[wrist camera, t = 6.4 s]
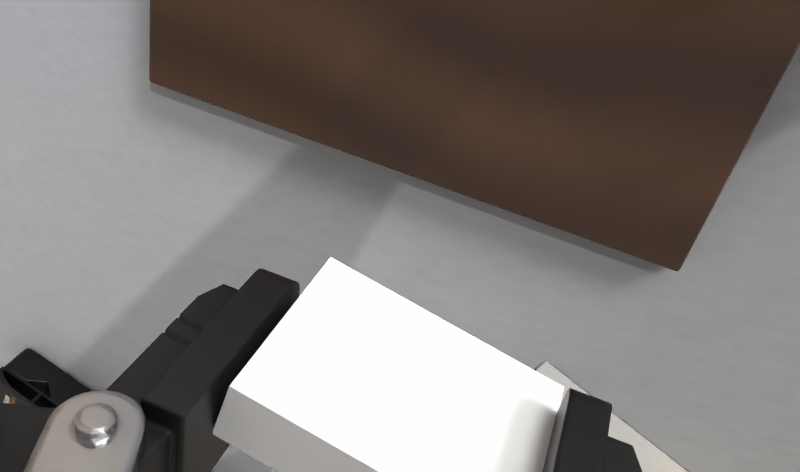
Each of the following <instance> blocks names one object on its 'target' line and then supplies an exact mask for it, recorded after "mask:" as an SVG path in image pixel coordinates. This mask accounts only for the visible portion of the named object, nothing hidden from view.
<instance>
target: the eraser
mask: <svg viewBox="0 0 800 472" xmlns="http://www.w3.org/2000/svg"><path fill="white" fill-rule="evenodd" d="M563 391H564V386H562V385H560V384H558V383H557V382H555V381H553V380H551V379H549V378H548V377H546V376H544V375H542V374H540V373H539V372H537V371H535V370H533V369H531V368H530V367H528V366H526V365H524V364H522V363H521V362H519V361H517V360H515V359H513V358H512V357H510V356H508V355H506V354H504V353H503V352H501V351H499V350H497V349H495V348H494V347H492V346H490V345H488V344H486V343H485V342H483V341H481V340H479V339H477V338H476V337H474V336H472V335H470V334H468V333H467V332H465V331H463V330H461V329H459V328H458V327H456V326H454V325H452V324H450V323H449V322H447V321H445V320H443V319H441V318H440V317H438V316H436V315H434V314H432V313H431V312H429V311H427V310H425V309H423V308H422V307H420V306H418V305H416V304H414V303H413V302H411V301H409V300H407V299H405V298H404V297H402V296H400V295H398V294H396V293H395V292H393V291H391V290H389V289H387V288H386V287H384V286H382V285H380V284H379V283H377V282H375V281H373V280H371V279H370V278H368V277H366V276H364V275H362V274H361V273H359V272H357V271H355V270H353V269H352V268H350V267H348V266H346V265H344V264H343V263H341V262H339V261H337V260H335V259H334V258H332V257H330V258H329V259H328V261H327V262H326V263H325V264H324V266H323V267H322V268H321V270H320V271H319V272H318V273H317V275H316V276H315V277H314V279H313V280H312V281H311V282H310V284H309V285H308V286H307V287H306V289H305V290H304V291H303V293H302V294H301V295H300V296H299V298H298V299H297V300H296V302H295V303H294V304H293V305H292V307H291V308H290V309H289V310H288V312H287V313H286V314H285V316H284V317H283V318H282V319H281V321H280V322H279V323H278V325H277V326H276V327H275V328H274V330H273V331H272V332H271V333H270V335H269V336H268V337H267V339H266V340H265V341H264V342H263V344H262V345H261V346H260V348H259V349H258V350H257V351H256V353H255V354H254V355H253V356H252V358H251V359H250V360H249V362H248V363H247V364H246V365H245V367H244V368H243V369H242V371H241V372H240V373H239V374H238V376H237V377H236V378H235V379H234V381H233V382H232V383H231V385H230V386H229V388H228V391H227V394H226V397H225V399H224V402H223V405H222V407H221V410H220V413H219V416H218V418H217V421H216V424H215V426H214V429H213V435H215V436H217V437H218V438H220V439H222V440H224V441H225V442H227V443H229V444H230V445H232V446H234V447H236V448H237V449H239V450H241V451H243V452H244V453H246V454H248V455H249V456H251V457H253V458H255V459H256V460H258V461H260V462H262V463H263V464H265V465H267V466H268V467H270V468H272V469H274V470H275V471H277V472H543V468H544V464H545V459H546V455H547V451H548V446H549V442H550V438H551V434H552V429H553V425H554V421H555V417H556V414H557V412H558V410H559V407H560V404H561V400H562V395H563Z"/></svg>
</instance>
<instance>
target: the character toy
mask: <svg viewBox="0 0 800 472" xmlns="http://www.w3.org/2000/svg"><path fill="white" fill-rule="evenodd" d="M535 371H537V372H539V373H540V374H542V375H544V376H546V377H548V378H549V379H551V380H553V381H555V382H557V383H558V384H560V385H562V386H564V391H563V395H562V400H561V403H562V401H563V399H564V396H565V394H566V392H567V391H568V389H569V388H572V389H574V390H577V391H580V392H582V393H585V394H587V395H589V394H588V393H586V392H585V391H584V390H583V389H581V388H580V387H579V386H577V385H576V384H575V383H574V382H572V381H571V380H570V379H568V378H567V377H566V376H565V375H563V374H562V373H561V372H560V371H558V370H557V369H556V368H554V367H553V366H552V365H551V364H549V363H548V362H547V361H546V362H545V363H544V364H542V365H541V366H540V367H539V368H537V369H536V370H535ZM560 405H561V404H560ZM608 436H610V437H612V438H615V439H617V440H620V441H622V442H625V443H627V444H630V445H632V446H633V447H634V450H635V453H636V456H637V459H638V461H639V464H640V467H641V470H642V472H687V471H686V470H685V469H683V468H682V467H681V466H680V465H678V464H677V463H676V462H674V461H673V460H672V459H671V458H669V457H668V456H667V455H666V454H664V453H663V452H662V451H660V450H659V449H658V448H657V447H655V446H654V445H653V444H652V443H650V442H649V441H648V440H646V439H645V438H644V437H643V436H641V435H640V434H639V433H637V432H636V431H635V430H634V429H632V428H631V427H630V426H629V425H627V424H626V423H625V422H623V421H622V420H621V419H620V418H618V417H617V416H616V415H614V414H613V413H612V412H611V418H610V425H609V432H608Z"/></svg>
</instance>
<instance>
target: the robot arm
mask: <svg viewBox="0 0 800 472" xmlns="http://www.w3.org/2000/svg"><path fill="white" fill-rule="evenodd" d="M299 291H300V286H299V283H298V282H296V281H293V280H290V279H288V278H285V277H283V276H280V275H277V274H275V273H272V272H270V271H267V270H264V269H258V270H257V271H256V272H255V273H254V274H253V275H252V276H251V277H250V278H249V279H248V280H247V281H246V283H245V284H244V285H243V286H242V287H241V288H240V289H239V290H237V289H235V288H232V287H230V286H227V285H224V284H223V285H221V286H219V287H217V288H215V289H212V290H210V291H208V292H206V293H204V294H202V295H200V296H198V297H197V298H196V299H195V300H194V301H193V302H192V303H191V304H190V305H189V306H188V307H187V308H186V309H185V310H184V311H183V312H182V313H181V314H180V317H179V318H176V319H175V320H174V321H173V322H172V323H171V324H170V325H169V326H168V328H167V329H166V331H165V333H162V334H161V335H160V336H159V337H158V338H157V339H156V340H155V341H154V342H153V343H152V344H151V345H150V346H149V347H148V348H147V349H146V350H145V351H144V352H143V353H142V354H141V355H140V356H139V357H138V358H137V359H136V360H135V361H134V362H133V363H132V364H131V365H130V366H129V367H128V368H127V369H126V371H125V372H124V373H123V374H122V375H121V376H120V377H119V378H118V379H117V380H116V381H115V382H114V383H113V384H112V385H111V386H110V387H109V388H108V389H106V390H99V391H90V392H85V393H82V394H79V395H76V396H74V397H72V398H70V399H68V400H66V401H65V402H63V403H62V404H61V405H59V406H58V407H57V408H44V407H35V406H26V405H18V404H9V403H0V472H210V471H211V470H212V469H213V467H214V466H215V464H216V463H217V462H218V460H219V459H220V457H221V456H222V455H223V453H224V452H225V450H226V449H227V448H228V446H229V445H230V444H229V443H227V442H225V441H224V440H222V439H220V438H218V437H217V436H215V435H213V429H214V426H215V424H216V421H217V418H218V416H219V413H220V410H221V407H222V405H223V402H224V399H225V397H226V394H227V391H228V388H229V386H230V385H231V383H232V382H233V381H234V379H235V378H236V377H237V376H238V374H239V373H240V372H241V371H242V369H243V368H244V367H245V365H246V364H247V363H248V362H249V360H250V359H251V358H252V356H253V355H254V354H255V353H256V351H257V350H258V349H259V348H260V346H261V345H262V344H263V342H264V341H265V340H266V339H267V337H268V336H269V335H270V333H271V332H272V331H273V330H274V328H275V327H276V326H277V325H278V323H279V322H280V321H281V319H282V318H283V317H284V316H285V314H286V313H287V312H288V310H289V309H290V308H291V307H292V305H293V304H294V303H295V302H296V300H297V299H298V298H299ZM611 411H612V405H611V403H608V402H605V401H603V400H600V399H598V398H595V397H592V396H590V395H587V394H585V393H582V392H580V391H577V390H574V389H572V388H569V389H568V391H567V392H566V394H565V396H564V399H563V401H562V403H561V405H560V407H559V410H558V412H557V414H556V417H555V421H554V425H553V429H552V434H551V438H550V442H549V446H548V451H547V455H546V459H545V464H544V468H543V472H642V470H641V467H640V464H639V461H638V459H637V456H636V453H635V450H634V447H633V446H632V445H630V444H627V443H625V442H622V441H620V440H617V439H615V438H612V437H610V436H608V432H609V425H610V418H611Z"/></svg>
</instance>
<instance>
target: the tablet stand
mask: <svg viewBox="0 0 800 472" xmlns="http://www.w3.org/2000/svg"><path fill="white" fill-rule="evenodd" d="M85 392H90V390H89V389H88V388H86V387H85V386H83V385H82V384H80V383H79V382H78V381H76V380H75V379H73V378H72V377H70V376H69V375H68V374H66V373H65V372H63V371H62V370H60V369H59V368H57V367H56V366H55V365H53V364H52V363H50V362H49V361H47V360H46V359H44V358H43V357H42V356H40V355H39V354H37V353H36V352H34V351H33V350H31V349H25V350H24V351H23V352H21V353H20V354H19V355H18V356H17V357H15V358H14V359H13V360H12V361H11V362H10V363H8V364H7V365H6V366H5V367H2V368H0V403H9V404H18V405H26V406H35V407H44V408H57V407H58V406H59V405H61V404H62V403H63V402H65V401H66V400H68V399H70V398H72V397H74V396H76V395H79V394H82V393H85Z"/></svg>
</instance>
